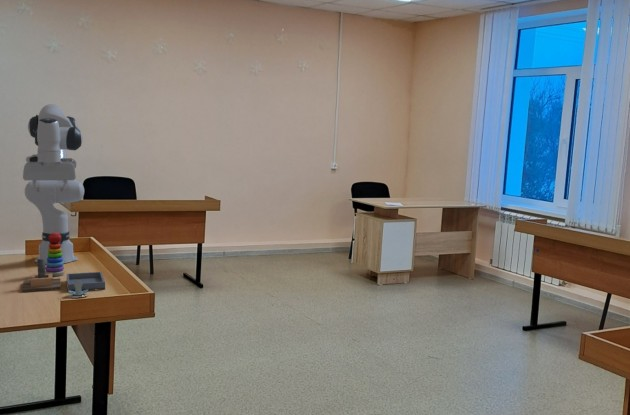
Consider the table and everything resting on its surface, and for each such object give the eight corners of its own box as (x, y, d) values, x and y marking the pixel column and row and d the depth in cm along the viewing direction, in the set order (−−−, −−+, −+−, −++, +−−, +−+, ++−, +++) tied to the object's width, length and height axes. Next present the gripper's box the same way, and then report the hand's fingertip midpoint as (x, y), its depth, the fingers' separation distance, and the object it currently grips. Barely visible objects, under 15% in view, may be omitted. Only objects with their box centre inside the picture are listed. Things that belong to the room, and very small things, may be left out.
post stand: (23, 283, 256) (22, 256, 254) (60, 281, 261) (59, 255, 260) (22, 292, 243) (21, 264, 242) (60, 289, 249) (60, 262, 247)
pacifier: (88, 298, 239) (88, 293, 245) (88, 282, 238) (88, 278, 244) (68, 299, 236) (68, 295, 242) (67, 283, 235) (67, 279, 241)
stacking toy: (57, 277, 267) (56, 234, 264) (40, 276, 268) (39, 233, 266) (68, 273, 275) (67, 231, 272) (52, 272, 276) (51, 230, 274)
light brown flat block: (31, 279, 258) (31, 272, 257) (52, 278, 261) (52, 271, 261) (30, 286, 247) (30, 279, 246) (52, 285, 250) (52, 278, 250)
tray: (66, 280, 262) (66, 273, 262) (101, 278, 268) (101, 271, 267) (67, 291, 246) (67, 284, 246) (105, 289, 251) (105, 282, 251)
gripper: (75, 157, 265) (76, 190, 266) (22, 157, 257) (23, 190, 258) (76, 158, 259) (77, 191, 261) (22, 158, 251) (23, 192, 253)
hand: (50, 191), depth 259 cm, fingers open, 8 cm apart
